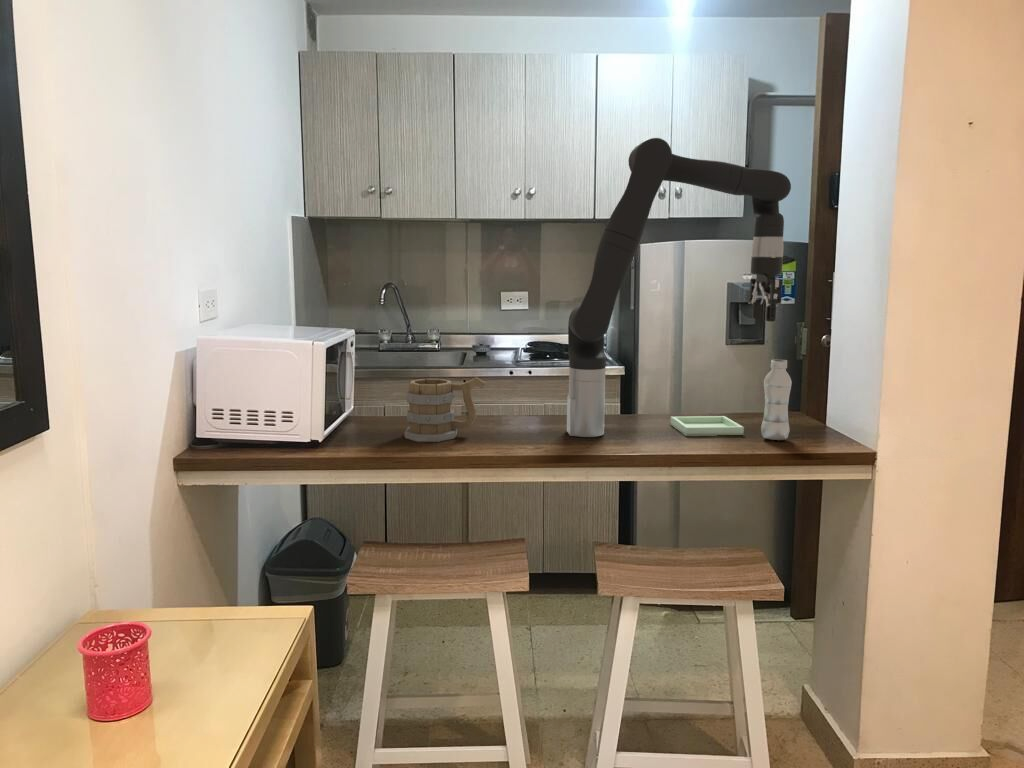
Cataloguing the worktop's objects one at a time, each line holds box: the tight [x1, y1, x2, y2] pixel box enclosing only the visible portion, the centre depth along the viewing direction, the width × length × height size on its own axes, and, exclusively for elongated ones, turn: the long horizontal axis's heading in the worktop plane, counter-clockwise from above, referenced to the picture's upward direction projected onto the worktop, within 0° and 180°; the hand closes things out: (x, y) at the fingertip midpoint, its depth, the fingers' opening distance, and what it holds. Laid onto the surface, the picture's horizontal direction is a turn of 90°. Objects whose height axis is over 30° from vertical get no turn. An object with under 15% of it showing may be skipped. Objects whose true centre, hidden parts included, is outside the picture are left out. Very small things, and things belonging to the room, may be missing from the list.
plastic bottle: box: [760, 359, 793, 441], centre depth 182 cm, size 6×7×20 cm
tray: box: [670, 415, 745, 437], centre depth 194 cm, size 15×14×2 cm
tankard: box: [404, 376, 486, 443], centre depth 185 cm, size 20×13×15 cm, turn 89°
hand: (763, 320), depth 188 cm, fingers open, 8 cm apart
